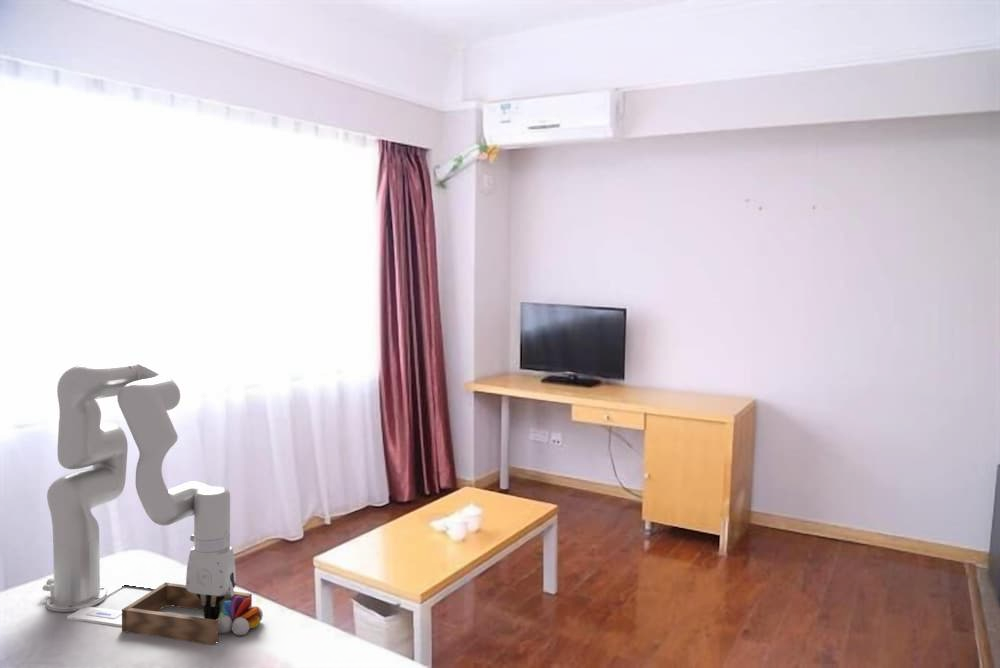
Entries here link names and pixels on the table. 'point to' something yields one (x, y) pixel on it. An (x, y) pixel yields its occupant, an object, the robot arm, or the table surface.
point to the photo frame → (101, 612)
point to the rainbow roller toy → (238, 616)
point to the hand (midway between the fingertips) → (211, 620)
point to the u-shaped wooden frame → (172, 615)
